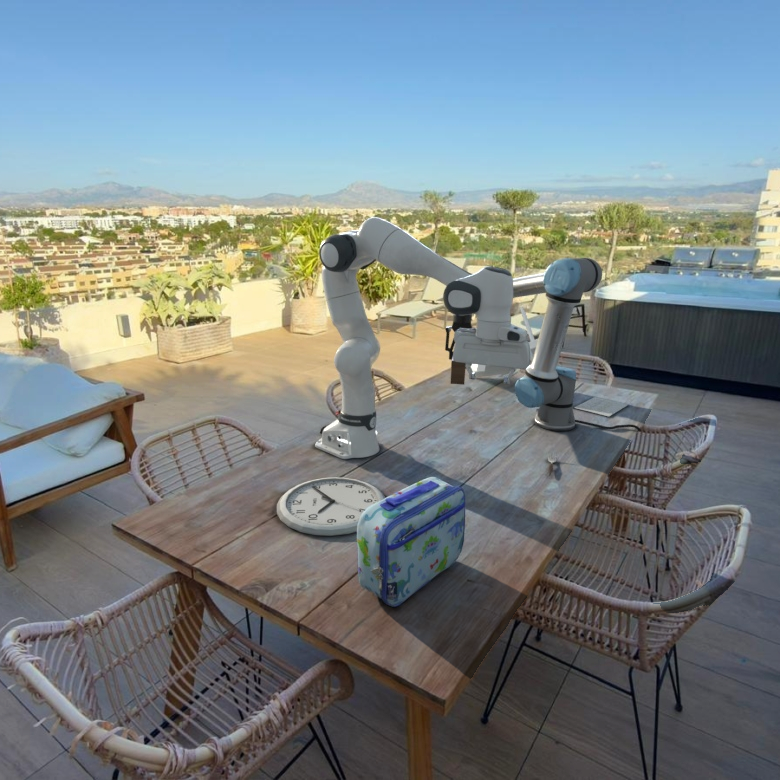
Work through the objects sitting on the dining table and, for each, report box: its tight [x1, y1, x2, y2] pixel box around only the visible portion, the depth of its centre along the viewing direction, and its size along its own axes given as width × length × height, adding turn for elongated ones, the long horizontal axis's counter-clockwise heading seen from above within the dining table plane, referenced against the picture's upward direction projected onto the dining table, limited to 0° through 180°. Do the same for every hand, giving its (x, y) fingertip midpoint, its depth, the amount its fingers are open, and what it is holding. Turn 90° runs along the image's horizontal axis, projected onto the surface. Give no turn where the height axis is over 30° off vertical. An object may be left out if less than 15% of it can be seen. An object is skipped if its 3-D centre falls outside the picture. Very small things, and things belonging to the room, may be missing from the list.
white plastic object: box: [471, 306, 538, 378], centre depth 258 cm, size 37×45×31 cm
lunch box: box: [356, 476, 466, 608], centre depth 110 cm, size 26×11×21 cm, turn 134°
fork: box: [547, 451, 558, 477], centre depth 168 cm, size 3×16×2 cm, turn 160°
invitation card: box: [573, 396, 629, 418], centre depth 226 cm, size 21×1×15 cm
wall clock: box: [276, 476, 386, 537], centre depth 142 cm, size 30×2×30 cm
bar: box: [449, 345, 466, 385], centre depth 212 cm, size 28×5×9 cm, turn 171°
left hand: (489, 381), depth 141 cm, fingers open, 8 cm apart
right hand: (459, 367), depth 223 cm, fingers closed on bar, 5 cm apart
